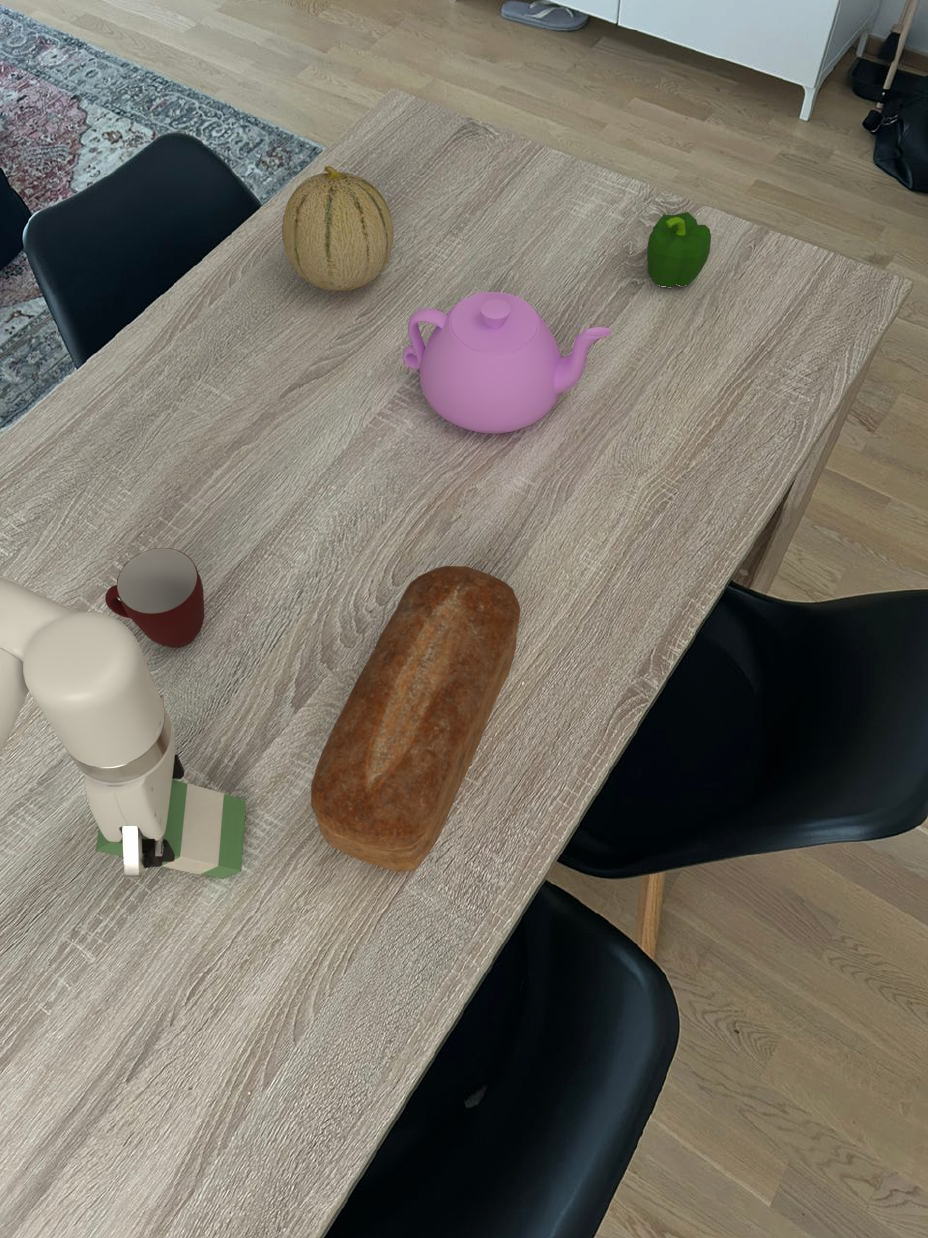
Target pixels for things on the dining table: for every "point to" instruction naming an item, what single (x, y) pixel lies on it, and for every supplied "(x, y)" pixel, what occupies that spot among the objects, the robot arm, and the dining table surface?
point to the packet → (199, 831)
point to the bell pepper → (677, 250)
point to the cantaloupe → (337, 231)
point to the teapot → (493, 362)
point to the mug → (160, 596)
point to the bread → (416, 718)
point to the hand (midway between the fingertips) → (161, 815)
